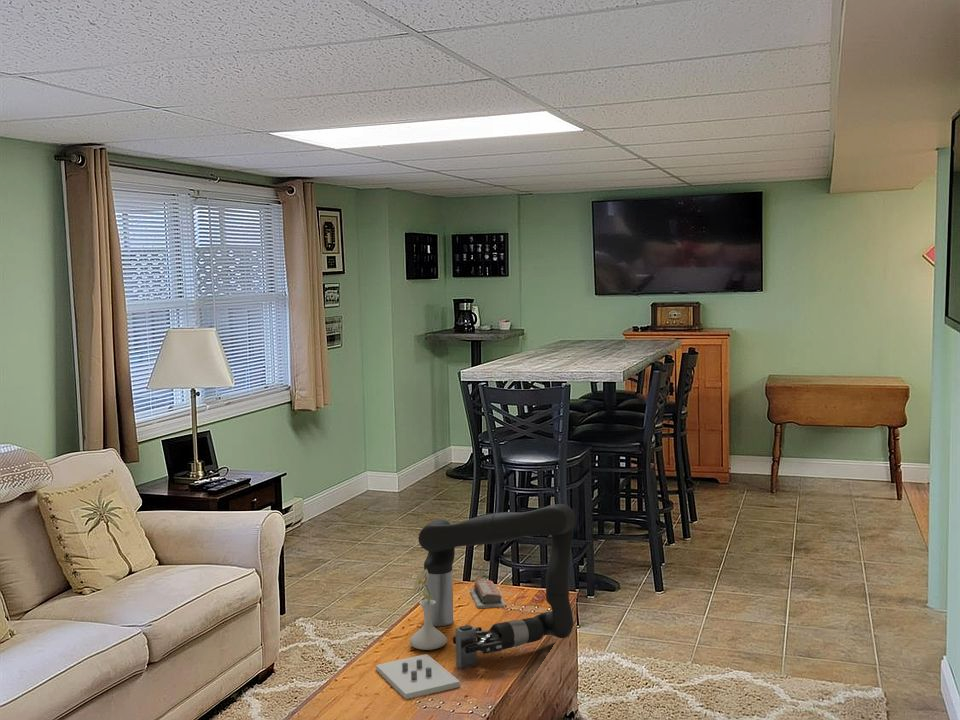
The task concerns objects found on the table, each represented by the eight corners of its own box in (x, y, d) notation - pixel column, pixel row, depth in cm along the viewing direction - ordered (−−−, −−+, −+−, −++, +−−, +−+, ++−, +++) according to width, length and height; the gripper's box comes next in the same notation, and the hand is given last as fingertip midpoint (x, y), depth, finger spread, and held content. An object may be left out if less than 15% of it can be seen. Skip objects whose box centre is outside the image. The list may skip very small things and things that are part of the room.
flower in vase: (411, 639, 293) (409, 560, 291) (448, 639, 293) (446, 560, 291) (407, 655, 280) (405, 573, 278) (445, 655, 280) (443, 573, 278)
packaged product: (468, 579, 337) (496, 578, 339) (469, 593, 337) (496, 591, 339) (477, 596, 319) (506, 594, 321) (477, 610, 320) (506, 608, 321)
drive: (456, 665, 273) (455, 626, 272) (471, 661, 275) (471, 623, 274) (461, 669, 270) (460, 630, 269) (476, 665, 272) (476, 627, 271)
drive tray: (375, 669, 270) (375, 658, 270) (427, 659, 278) (426, 647, 277) (405, 699, 251) (405, 686, 251) (459, 686, 258) (459, 674, 258)
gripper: (497, 614, 284) (448, 624, 277) (521, 629, 272) (470, 640, 264) (498, 638, 285) (448, 649, 278) (521, 655, 272) (470, 666, 265)
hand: (459, 645), depth 271 cm, fingers open, 7 cm apart
